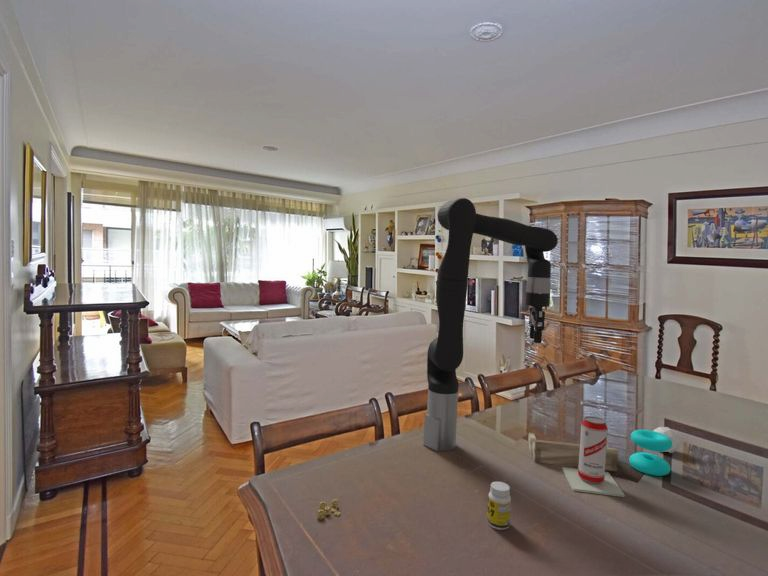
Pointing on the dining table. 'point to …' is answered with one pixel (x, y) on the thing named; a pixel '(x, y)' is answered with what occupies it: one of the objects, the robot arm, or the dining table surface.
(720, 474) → the dining table surface
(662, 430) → the geometric ball
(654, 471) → the donuts
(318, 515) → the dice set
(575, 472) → the sage tile
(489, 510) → the supplement bottle
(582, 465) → the beer can
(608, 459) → the birch bay
